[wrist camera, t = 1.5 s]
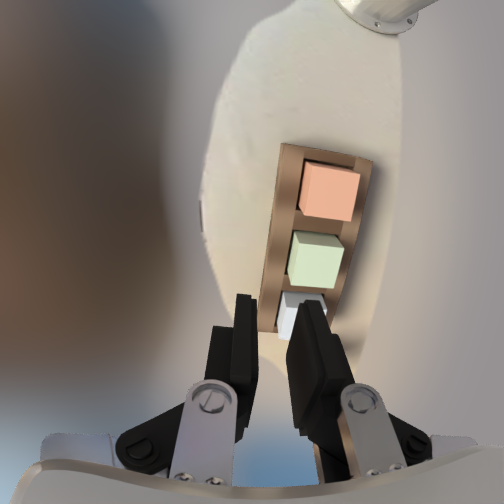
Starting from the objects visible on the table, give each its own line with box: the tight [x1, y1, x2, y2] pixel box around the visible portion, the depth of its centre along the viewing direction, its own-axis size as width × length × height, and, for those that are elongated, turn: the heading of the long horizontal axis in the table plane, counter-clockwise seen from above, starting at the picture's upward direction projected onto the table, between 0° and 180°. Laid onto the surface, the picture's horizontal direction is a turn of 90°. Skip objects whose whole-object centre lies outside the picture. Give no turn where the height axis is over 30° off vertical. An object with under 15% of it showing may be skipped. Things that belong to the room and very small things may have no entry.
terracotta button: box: [297, 161, 360, 222], centre depth 29 cm, size 5×5×4 cm
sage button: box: [287, 229, 344, 288], centre depth 32 cm, size 5×5×4 cm
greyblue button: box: [276, 290, 327, 340], centre depth 35 cm, size 5×5×4 cm
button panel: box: [257, 143, 373, 333], centre depth 34 cm, size 24×10×4 cm, turn 174°
